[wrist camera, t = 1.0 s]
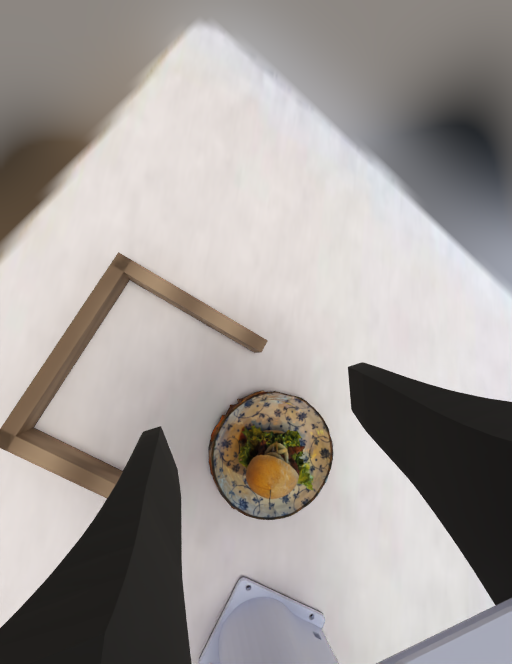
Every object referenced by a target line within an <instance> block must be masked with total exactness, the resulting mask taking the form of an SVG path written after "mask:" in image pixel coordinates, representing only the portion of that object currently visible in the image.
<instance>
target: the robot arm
mask: <svg viewBox="0 0 512 664" xmlns="http://www.w3.org/2000/svg"><path fill="white" fill-rule="evenodd" d="M348 373H349V385H350V397H351V409H352V411H353V413H354V414H355V416H356V417H357V419H358V420H359V422H360V423H361V425H362V426H363V428H364V429H365V430H366V432H367V433H368V434H369V435H370V436H371V437H372V439H373V440H374V441H375V442H376V443H377V444H378V445H379V446H380V448H381V449H382V450H383V451H384V452H385V453H386V454H387V455H388V456H389V457H390V459H391V460H392V461H393V462H394V463H395V464H396V465H397V466H398V467H399V469H400V470H401V471H402V472H403V473H404V474H405V475H406V476H407V478H408V479H409V480H410V481H411V482H412V484H413V485H414V486H415V487H416V489H417V490H418V491H419V493H420V494H421V495H422V497H423V498H424V499H425V501H426V502H427V503H428V505H429V506H430V507H431V509H432V510H433V512H434V513H435V514H436V516H437V517H438V519H439V520H440V521H441V523H442V524H443V526H444V527H445V529H446V530H447V531H448V533H449V534H450V536H451V537H452V539H453V540H454V542H455V543H456V545H457V546H458V548H459V549H460V551H461V552H462V554H463V555H464V557H465V558H466V560H467V561H468V563H469V564H470V566H471V567H472V569H473V570H474V572H475V573H476V575H477V577H478V578H479V580H480V581H481V583H482V584H483V586H484V588H485V589H486V591H487V592H488V594H489V596H490V597H491V599H492V600H493V602H494V604H495V605H496V606H494V607H492V608H490V609H487V610H485V611H483V612H481V613H479V614H477V615H475V616H473V617H471V618H469V619H467V620H465V621H463V622H461V623H459V624H457V625H455V626H453V627H450V628H448V629H446V630H444V631H442V632H440V633H438V634H436V635H434V636H432V637H430V638H428V639H426V640H424V641H422V642H420V643H418V644H415V645H413V646H411V647H409V648H407V649H405V650H403V651H401V652H399V653H397V654H395V655H393V656H391V657H389V658H387V659H385V660H383V661H381V662H378V663H376V664H512V402H508V401H501V400H495V399H488V398H483V397H478V396H473V395H468V394H464V393H459V392H455V391H451V390H447V389H443V388H440V387H436V386H433V385H429V384H426V383H423V382H420V381H417V380H413V379H410V378H407V377H404V376H402V375H399V374H396V373H393V372H390V371H387V370H384V369H382V368H379V367H376V366H373V365H370V364H366V363H363V362H362V363H359V364H356V365H353V366H349V367H348ZM247 585H250V587H249V588H246V586H247ZM311 614H313V615H312V616H311V617H309V616H310V615H311ZM324 623H325V617H324V615H323V614H322V613H320V612H318V611H316V610H314V609H312V608H310V607H308V606H305V605H303V604H301V603H299V602H297V601H295V600H292V599H290V598H288V597H286V596H284V595H282V594H280V593H277V592H275V591H273V590H271V589H269V588H267V587H264V586H262V585H260V584H258V583H256V582H254V581H252V580H249V579H247V578H244V577H243V578H241V579H240V580H239V581H238V583H237V585H236V587H235V589H234V591H233V593H232V595H231V597H230V599H229V601H228V603H227V605H226V607H225V609H224V611H223V613H222V615H221V617H220V619H219V621H218V623H217V625H216V627H215V629H214V631H213V633H212V635H211V637H210V639H209V641H208V643H207V645H206V647H205V649H204V651H203V653H202V655H201V657H200V659H199V664H209V663H212V664H339V663H338V661H337V659H336V657H335V655H334V653H333V651H332V649H331V647H330V645H329V643H328V641H327V639H326V637H325V635H324V633H323V631H322V627H323V625H324ZM0 664H191V656H190V648H189V639H188V630H187V621H186V612H185V602H184V592H183V582H182V560H181V493H180V484H179V477H178V470H177V467H176V464H175V461H174V459H173V456H172V454H171V451H170V449H169V446H168V443H167V441H166V438H165V436H164V433H163V430H162V428H161V426H160V427H157V428H154V429H150V430H147V431H144V432H143V433H142V435H141V437H140V439H139V441H138V443H137V445H136V447H135V449H134V451H133V453H132V455H131V457H130V459H129V461H128V463H127V465H126V467H125V468H124V470H123V472H122V474H121V476H120V478H119V480H118V481H117V483H116V485H115V487H114V488H113V490H112V492H111V493H110V495H109V497H108V498H107V500H106V502H105V503H104V505H103V506H102V508H101V510H100V511H99V513H98V514H97V516H96V517H95V519H94V520H93V522H92V523H91V524H90V526H89V527H88V528H87V530H86V531H85V533H84V534H83V535H82V537H81V538H80V539H79V541H78V542H77V543H76V544H75V546H74V547H73V548H72V549H71V551H70V552H69V553H68V554H67V555H66V557H65V558H64V559H63V560H62V562H61V563H60V564H59V565H58V566H57V568H56V569H55V570H54V571H53V573H52V574H51V575H50V576H49V577H48V578H47V579H46V580H45V582H44V583H43V584H42V585H41V586H40V587H39V588H38V589H37V591H36V592H35V593H34V594H33V595H32V596H31V597H30V598H29V599H28V600H27V601H26V602H25V603H24V604H23V606H22V607H21V608H20V609H19V610H18V611H17V612H16V613H15V614H14V615H13V616H12V617H11V618H10V619H9V620H8V621H7V622H6V623H5V624H4V625H3V626H2V627H1V628H0Z"/></svg>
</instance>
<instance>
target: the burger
mask: <svg viewBox="0 0 512 664" xmlns="http://www.w3.org/2000/svg"><path fill="white" fill-rule="evenodd" d="M237 400H238V402H239V403H238V404H235V405H230V408H229V409H228V411H227V413H226V416H225V415H222V417H221V420H220V422H219V423H218V425H216V427H215V428H214V430H213V432H212V435H211V440H210V445H209V465H210V470H211V474H212V476H213V479H214V481H215V484H216V485H217V487H218V489H219V491H220V493H221V495H222V496H223V498H224V499H225V500H226V501H227V502H228V503H229V504H230V506H231V507H232V508H233V509H236V510H238V511H239V512H241V513H242V514H244V515H246V516H249V517H252V518H256V519H263V520H265V519H266V520H275V519H281V518H285V517H289V516H291V515H293V514H295V513H297V512H298V511H300V510H301V509H303V508H304V507H306V506H307V505H309V504H310V503H311V502H312V501H313V500H314V499H315V497H317V495H318V494H319V492H320V491H321V489H322V487H323V485H324V484H325V483H326V481H327V478H328V475H329V472H330V469H331V465H332V460H333V444H332V440H331V437H330V433H329V429H328V427H327V425H326V423H325V421H324V420H323V418H322V417H321V415H320V414H319V413H318V412H317V411H316V410H315V409H314V408H313V407H312V406H311V405H310V404H309V403H308V402H307V401H305V400H304V399H302V398H300V397H296V396H292V395H287V394H283V393H280V392H276V391H274V392H264V391H259V392H255V393H253V394H251V395H249V396H247V397H244V398H242V399H237Z"/></svg>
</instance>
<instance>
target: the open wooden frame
mask: <svg viewBox="0 0 512 664" xmlns="http://www.w3.org/2000/svg"><path fill="white" fill-rule="evenodd" d="M129 280H131V281H132V282H134V283H136V284H137V285H139V286H141V287H143V288H144V289H146V290H148V291H149V292H151V293H153V294H155V295H156V296H158V297H160V298H161V299H163V300H165V301H167V302H168V303H170V304H172V305H173V306H175V307H177V308H179V309H180V310H182V311H184V312H186V313H187V314H189V315H191V316H192V317H194V318H196V319H198V320H199V321H201V322H203V323H204V324H206V325H208V326H210V327H211V328H213V329H215V330H216V331H218V332H220V333H222V334H223V335H225V336H227V337H228V338H230V339H232V340H234V341H235V342H237V343H239V344H241V345H242V346H244V347H246V348H247V349H249V350H251V351H253V352H254V353H258V352H262V350H263V348H264V346H265V345H266V343H267V340H266V339H264V338H262V337H260V336H259V335H257V334H255V333H254V332H252V331H250V330H249V329H247V328H245V327H244V326H242V325H240V324H239V323H237V322H235V321H233V320H232V319H230V318H228V317H227V316H225V315H223V314H222V313H220V312H218V311H217V310H215V309H213V308H212V307H210V306H208V305H206V304H205V303H203V302H201V301H200V300H198V299H196V298H195V297H193V296H191V295H190V294H188V293H186V292H185V291H183V290H181V289H179V288H178V287H176V286H174V285H173V284H171V283H169V282H168V281H166V280H164V279H163V278H161V277H159V276H157V275H156V274H154V273H152V272H151V271H149V270H147V269H146V268H144V267H142V266H141V265H139V264H137V263H136V262H134V261H132V260H130V259H129V258H127V257H125V256H124V255H122V254H120V253H119V252H118V254H117V255H116V257H115V258H114V260H113V261H112V263H111V264H110V266H109V267H108V269H107V270H106V272H105V273H104V275H103V276H102V278H101V279H100V281H99V282H98V284H97V285H96V287H95V288H94V290H93V291H92V293H91V294H90V296H89V297H88V299H87V300H86V302H85V303H84V305H83V306H82V308H81V309H80V311H79V312H78V314H77V315H76V317H75V318H74V320H73V321H72V323H71V324H70V326H69V327H68V329H67V330H66V332H65V333H64V335H63V336H62V338H61V339H60V341H59V342H58V344H57V345H56V347H55V348H54V350H53V351H52V353H51V354H50V356H49V357H48V359H47V360H46V362H45V363H44V364H43V366H42V367H41V369H40V370H39V372H38V373H37V375H36V376H35V378H34V379H33V381H32V382H31V384H30V385H29V387H28V388H27V390H26V391H25V393H24V394H23V396H22V397H21V399H20V400H19V402H18V403H17V405H16V406H15V408H14V409H13V411H12V412H11V414H10V415H9V417H8V418H7V420H6V421H5V423H4V424H3V426H2V427H1V429H0V448H1V449H4V450H6V451H8V452H10V453H12V454H14V455H16V456H18V457H21V458H23V459H25V460H27V461H29V462H31V463H33V464H35V465H38V466H40V467H42V468H44V469H46V470H48V471H50V472H52V473H55V474H57V475H59V476H61V477H63V478H65V479H67V480H69V481H72V482H74V483H76V484H78V485H80V486H82V487H84V488H86V489H88V490H91V491H93V492H95V493H97V494H99V495H101V496H103V497H105V498H108V497H109V495H110V493H111V492H112V490H113V488H114V487H115V485H116V483H117V481H118V480H119V478H120V476H121V474H122V472H123V471H121V470H119V469H117V468H115V467H113V466H111V465H109V464H107V463H105V462H103V461H101V460H98V459H96V458H94V457H92V456H90V455H88V454H86V453H84V452H82V451H80V450H78V449H76V448H74V447H72V446H70V445H68V444H66V443H64V442H62V441H60V440H58V439H55V438H53V437H51V436H49V435H47V434H45V433H43V432H41V431H39V430H37V429H35V428H33V427H34V426H35V424H36V423H37V421H38V420H39V418H40V417H41V415H42V414H43V412H44V411H45V409H46V408H47V406H48V404H49V403H50V401H51V400H52V398H53V397H54V395H55V394H56V392H57V391H58V389H59V388H60V386H61V385H62V383H63V381H64V380H65V378H66V377H67V375H68V374H69V372H70V371H71V369H72V368H73V366H74V365H75V363H76V362H77V360H78V358H79V357H80V355H81V354H82V352H83V351H84V349H85V348H86V346H87V345H88V343H89V342H90V340H91V339H92V337H93V335H94V334H95V332H96V331H97V329H98V328H99V326H100V325H101V323H102V322H103V320H104V319H105V317H106V315H107V314H108V312H109V311H110V309H111V308H112V306H113V305H114V303H115V302H116V300H117V299H118V297H119V296H120V294H121V292H122V291H123V289H124V288H125V286H126V285H127V283H128V282H129Z"/></svg>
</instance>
